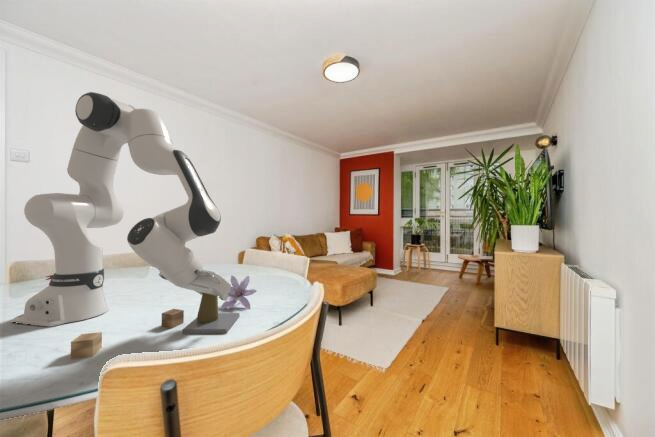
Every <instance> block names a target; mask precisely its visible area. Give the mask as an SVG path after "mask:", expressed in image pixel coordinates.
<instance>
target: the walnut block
mask: <svg viewBox="0 0 655 437" xmlns="http://www.w3.org/2000/svg"><path fill="white" fill-rule="evenodd" d="M184 312H185V311H184V310H183V309H178V308H172V309H169V310H167V311H164V312H161V327H162V328H166V329H167V328H168V329H174V328H176V327H179V326H181V325H182V324H184V322H185V321H184V320H185V316H184V314H185V313H184Z"/></svg>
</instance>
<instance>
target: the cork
mask: <svg viewBox="0 0 655 437" xmlns="http://www.w3.org/2000/svg"><path fill="white" fill-rule="evenodd" d="M202 294H203V295H201V299H200V303H199V308H198V311H197V315H196V316H197V317H196V318H197V321H199V322H203V323H208V322H213V321H216V320H217V319H218V313H219V302H218V301H219V300H218V298H219V296H216V295H211V294H207V293H203V292H202Z"/></svg>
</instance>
